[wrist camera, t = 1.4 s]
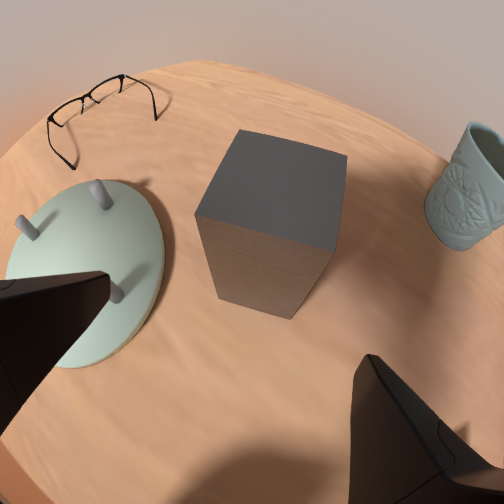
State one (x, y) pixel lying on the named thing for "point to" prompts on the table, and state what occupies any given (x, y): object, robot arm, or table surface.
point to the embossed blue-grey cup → (469, 190)
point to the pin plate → (97, 258)
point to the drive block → (271, 221)
